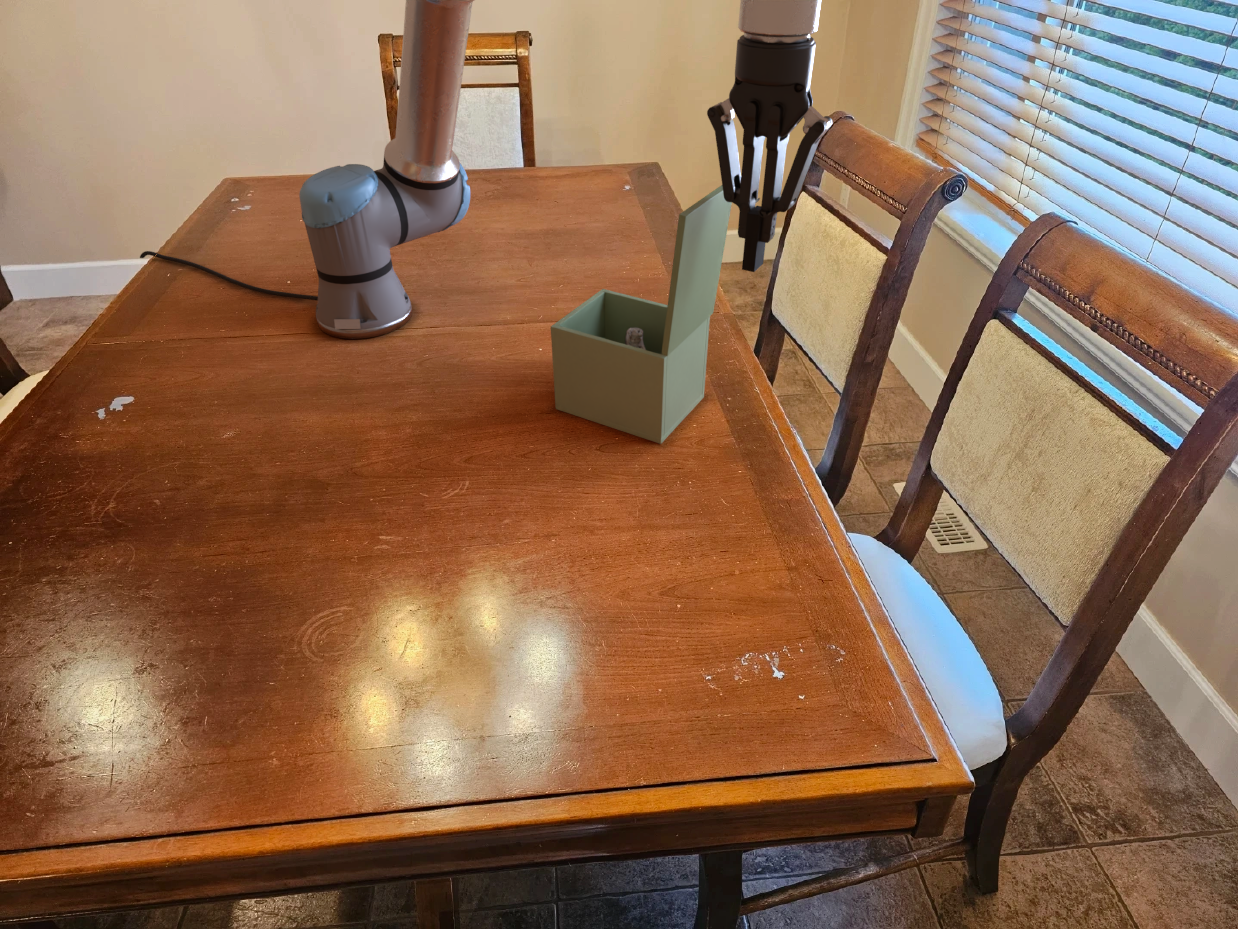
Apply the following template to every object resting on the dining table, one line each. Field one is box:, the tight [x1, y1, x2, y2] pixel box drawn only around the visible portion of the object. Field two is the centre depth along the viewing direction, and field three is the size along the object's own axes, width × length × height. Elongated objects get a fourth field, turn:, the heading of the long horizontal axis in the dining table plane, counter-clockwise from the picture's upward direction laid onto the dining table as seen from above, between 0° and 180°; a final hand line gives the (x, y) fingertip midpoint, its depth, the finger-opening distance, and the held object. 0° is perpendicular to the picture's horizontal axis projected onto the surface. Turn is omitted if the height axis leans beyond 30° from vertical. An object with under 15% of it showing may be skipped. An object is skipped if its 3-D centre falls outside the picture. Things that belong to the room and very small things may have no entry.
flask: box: [625, 327, 646, 350], centre depth 108 cm, size 9×3×11 cm, turn 6°
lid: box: [662, 184, 733, 356], centre depth 95 cm, size 18×13×1 cm
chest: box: [550, 288, 711, 445], centre depth 108 cm, size 17×13×13 cm
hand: (752, 266), depth 91 cm, fingers closed
